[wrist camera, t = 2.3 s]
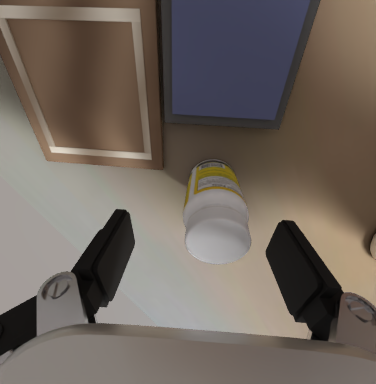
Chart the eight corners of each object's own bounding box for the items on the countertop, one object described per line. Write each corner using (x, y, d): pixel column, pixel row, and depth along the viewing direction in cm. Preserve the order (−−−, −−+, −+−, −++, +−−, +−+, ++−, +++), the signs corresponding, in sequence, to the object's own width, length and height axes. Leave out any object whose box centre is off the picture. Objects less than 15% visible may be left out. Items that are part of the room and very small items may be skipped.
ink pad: (325, -47, 9) (347, -71, 8) (273, 126, 14) (280, 130, 12) (163, -48, 10) (157, -71, 8) (167, 120, 14) (163, 123, 13)
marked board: (156, -10, 10) (154, -15, 10) (163, 167, 17) (162, 170, 16) (-21, -13, 11) (-34, -19, 10) (51, 158, 17) (45, 161, 17)
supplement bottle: (211, 206, 19) (214, 277, 12) (179, 180, 17) (162, 243, 10) (245, 179, 17) (275, 246, 10) (213, 147, 15) (219, 198, 8)
